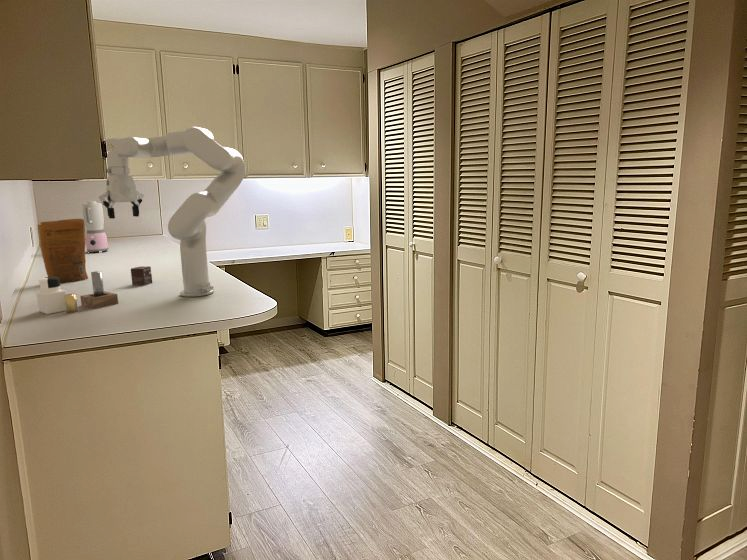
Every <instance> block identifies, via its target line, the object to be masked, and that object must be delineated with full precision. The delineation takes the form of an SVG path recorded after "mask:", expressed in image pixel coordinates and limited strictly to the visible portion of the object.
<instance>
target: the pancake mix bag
mask: <svg viewBox="0 0 747 560" xmlns="http://www.w3.org/2000/svg"><path fill="white" fill-rule="evenodd" d="M39 223H40V224H37V226H36V227H37V235H38V241H39V242H38V243H39V249H40V252H41V256H42V260H43V264H44V269H45V272H46V275H47V276H46V277H58V278H59V280H60V284H63V283H64V284H65V283H70V282H79V281H86V280H87V279H89V277H88V272H87V269H86V225H85V220H84V218H83V219H82V218H70V219H60V220H50V221H41V222H39ZM85 279H86V280H85Z"/></svg>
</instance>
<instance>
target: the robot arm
mask: <svg viewBox="0 0 747 560" xmlns="http://www.w3.org/2000/svg"><path fill="white" fill-rule="evenodd" d="M105 141H106V142H107V143H110V144H112V145H113V146H114V148H113V150H112V151H110V152H108V154H107V159H106V164H107V165H106V166H107V167H106V169H107V173H106V174H107V176H108V178H107V177H106V180H105V181H106V183H105V185H106V186H105V187H106V190H105V192H104V193H102V194H101V195H99V196H98V199H99V201H100V203H101V204H102V206H104V207H105V209H106V212H107V216H108V219H110V220H111V219H112V220H113V219H116V214H115V208H114V207H113V206H115V203H130V204H132V206H131V209H132V217H137V218H139V217H140V206H141V203H142V202H143V199H144V197H145V195H144V193H142V192H139V191H137V185H136V181H135V178H134V176H133V175H131V171H130V161H129V158H132V159H133V158H135V159H137V158H138V159H139V158H140V159H150V158H160V157H161V158H162V157H169V156H171V157H172V156H179V155H186V154H192V155H194V156H195V157H197V158H198V159H199V160H201V162H203V163H205V164H206V165H208V167H210V168H212V169H213V170H216V171H220V173H218V175H216V176H215V177H214V178H213V180H212V181H211V182H210V183H209V184H208V185H207V187H206V188H205V189H204V190H202V191H198V192H194V193H192V194H190V195H189V196H187V198H186V199H185V200H184V201H183V203H181V205H180V206H179V208H177V210H176V211H175V212H174V213H173V214H172V216H171V218H169V221H168V224H167V230H168V233H169V235H170V236H171V237H172V238H173V239H176V240H179V241H180V242H179V250H180V251H179V252H180V253H179V254H180V262H181V273H182V283H183V290H180V292H179V295H180V296H182V297H188V298H191V297H203V296H208V295H212V294H213V293H214V292H215V289H214V286H213V285H211V282H210V279H209V266H208V257H207V242H206V241H207V224H206V223H207V222H206V218H210V217H213V216H216V214H217V213H219V211H220V210H221V209H222V207H223V206H224V205H225V204H226V202H228V200H229V199H230V198H231V197H232V195H233V194H234V192H235V191H236V190H237V189H238V188H239V186H240V185H241V183H242V182H243V180H244V177H245V174H246V164H245V161H244V157H243V155H242V154H241V153H240V152H239V151H238V150H236V149H234V148H231V147H227V146H222V145H221V144H219V143H218V142H217V141H215V137H214V135H213V133H212V132H211V131H210V130H208V129H207V128H203V127H198V126H191V127H188V128H186V129H183V130H173V131H168V132H166V134H165V135H160V136H153V137H137V136H136V137H135V136H128V137H119V138H118V137H117V138H116V137H115V138H113V137H111V138H110V137H109V138H106V139H105V140H104V142H105ZM106 199H107V200H106Z"/></svg>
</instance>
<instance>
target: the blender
mask: <svg viewBox="0 0 747 560" xmlns="http://www.w3.org/2000/svg"><path fill="white" fill-rule="evenodd" d="M81 206H82V217H83V220H85V230H86V233H85V246H86V251H87V253H88V252H90V253H91V252H98V251H102V252H103V251H104V252H105V250H107V251H108V250H109V244H108V235H107V234H106V232H105V230H104V226H105V224H104V223H105V222H104V221H105V219H104V217H105V216H104V211H103V209H104V208H103V204H102V202H97V201H96V200H93V201H92V200H91V201H90V200H89V201H87V202H86V203H82V205H81Z"/></svg>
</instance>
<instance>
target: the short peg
mask: <svg viewBox="0 0 747 560" xmlns="http://www.w3.org/2000/svg"><path fill="white" fill-rule="evenodd" d="M64 297H65V304H66V311H65V312H66V313H67V314H72V313H73V314H74V313H77V312H78V311H79V310H78V309H79V308H78V303H77V295H76V294H75V293H70V294H69V293H68V294H67V293H66V295H64Z"/></svg>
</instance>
